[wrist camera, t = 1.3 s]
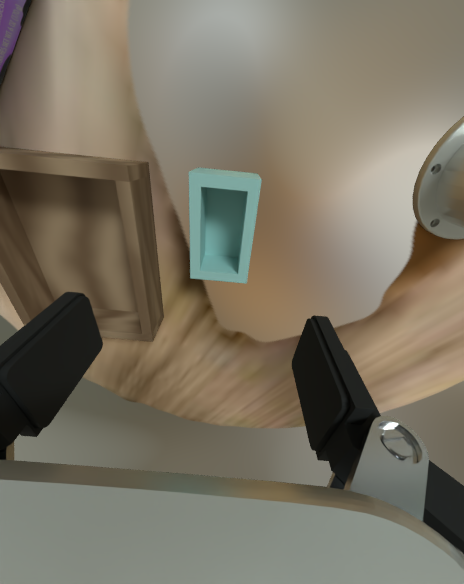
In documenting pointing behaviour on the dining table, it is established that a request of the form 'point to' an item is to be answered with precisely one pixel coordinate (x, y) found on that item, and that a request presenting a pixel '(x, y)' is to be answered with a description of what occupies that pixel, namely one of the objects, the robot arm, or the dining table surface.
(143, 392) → the dining table surface
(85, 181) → the big crate
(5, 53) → the candy box
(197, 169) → the small crate
